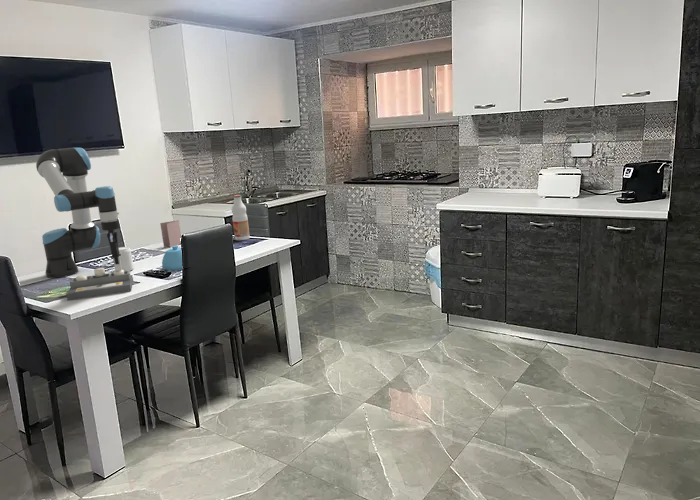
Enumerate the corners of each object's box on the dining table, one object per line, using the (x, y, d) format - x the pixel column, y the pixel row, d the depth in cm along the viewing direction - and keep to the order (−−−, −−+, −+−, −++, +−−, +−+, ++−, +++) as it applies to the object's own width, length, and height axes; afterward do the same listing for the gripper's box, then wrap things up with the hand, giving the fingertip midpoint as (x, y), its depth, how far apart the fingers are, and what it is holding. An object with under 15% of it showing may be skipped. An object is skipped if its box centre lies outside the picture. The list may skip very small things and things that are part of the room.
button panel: (74, 289, 247) (71, 277, 246) (133, 280, 255) (131, 268, 254) (67, 300, 231) (64, 287, 229) (131, 291, 238) (128, 278, 237)
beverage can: (128, 272, 271) (124, 250, 268) (114, 273, 273) (110, 250, 270) (137, 268, 279) (133, 246, 276) (123, 268, 280) (119, 246, 278)
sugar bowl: (198, 265, 276) (195, 244, 273) (172, 273, 265) (169, 250, 262) (183, 262, 286) (180, 241, 283) (157, 269, 275) (154, 247, 272)
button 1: (77, 282, 244) (76, 276, 243) (88, 281, 245) (87, 274, 244) (76, 285, 240) (75, 278, 239) (86, 283, 241) (85, 277, 240)
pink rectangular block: (181, 243, 336) (178, 220, 332) (185, 245, 330) (181, 221, 326) (163, 246, 329) (159, 222, 326) (166, 248, 323) (163, 224, 320)
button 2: (115, 276, 248) (113, 270, 248) (125, 275, 250) (124, 269, 249) (114, 278, 244) (113, 272, 244) (124, 277, 246) (123, 271, 245)
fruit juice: (247, 240, 331) (242, 195, 324) (233, 241, 332) (227, 196, 325) (251, 237, 340) (246, 193, 333) (237, 237, 341) (232, 194, 334)
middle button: (95, 274, 245) (94, 268, 245) (106, 273, 247) (104, 267, 246) (94, 277, 241) (93, 270, 241) (105, 275, 243) (103, 269, 242)
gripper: (117, 221, 236) (126, 272, 241) (119, 217, 248) (128, 266, 253) (99, 223, 234) (108, 274, 239) (102, 219, 246) (111, 268, 251)
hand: (118, 270), depth 246 cm, fingers closed
